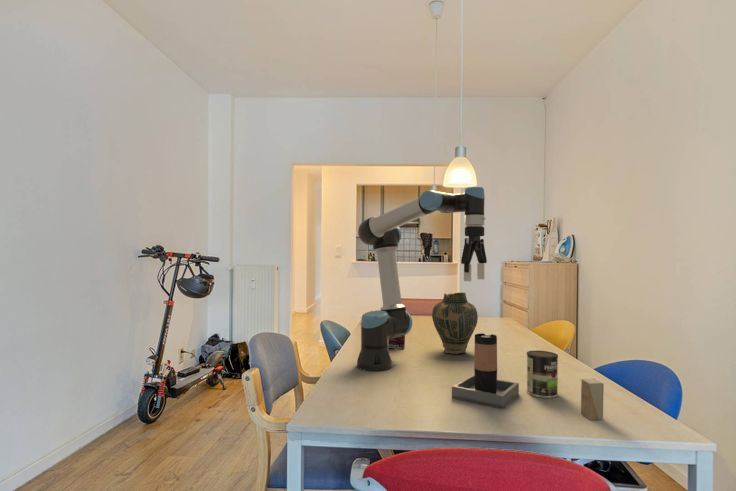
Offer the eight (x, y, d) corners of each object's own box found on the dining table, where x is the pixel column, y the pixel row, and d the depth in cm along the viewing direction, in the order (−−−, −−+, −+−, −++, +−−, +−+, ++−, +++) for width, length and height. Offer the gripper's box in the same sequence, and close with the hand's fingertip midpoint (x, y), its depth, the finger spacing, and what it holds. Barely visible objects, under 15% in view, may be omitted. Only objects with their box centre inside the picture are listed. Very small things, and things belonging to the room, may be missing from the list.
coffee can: (564, 395, 153) (564, 355, 153) (543, 400, 148) (543, 358, 148) (540, 387, 162) (540, 349, 162) (520, 391, 157) (520, 351, 157)
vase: (482, 358, 205) (482, 294, 205) (435, 357, 205) (435, 293, 206) (472, 347, 227) (472, 289, 227) (429, 347, 227) (429, 289, 228)
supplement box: (388, 348, 223) (388, 317, 223) (388, 346, 228) (388, 316, 228) (405, 349, 222) (405, 318, 222) (405, 347, 227) (405, 316, 227)
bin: (451, 398, 149) (451, 386, 149) (471, 385, 164) (471, 374, 164) (502, 409, 139) (502, 396, 139) (518, 394, 153) (518, 383, 153)
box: (580, 414, 135) (580, 378, 136) (593, 413, 136) (593, 377, 136) (590, 420, 130) (590, 383, 130) (604, 420, 131) (604, 382, 131)
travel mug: (482, 398, 147) (482, 338, 147) (470, 391, 154) (470, 334, 154) (501, 395, 149) (501, 336, 149) (488, 388, 156) (488, 332, 156)
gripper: (471, 224, 160) (471, 282, 160) (494, 227, 180) (494, 279, 180) (452, 225, 164) (452, 281, 164) (477, 227, 185) (477, 278, 184)
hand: (474, 280), depth 172 cm, fingers open, 13 cm apart
